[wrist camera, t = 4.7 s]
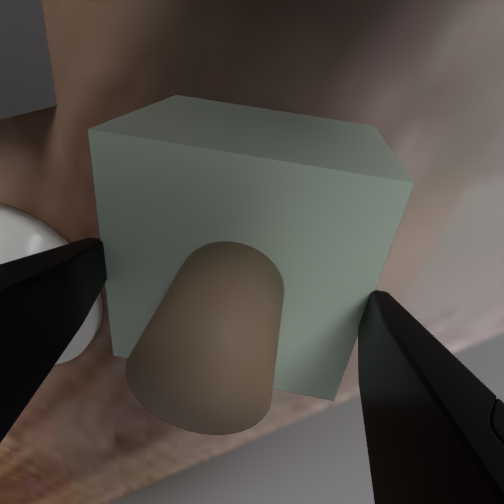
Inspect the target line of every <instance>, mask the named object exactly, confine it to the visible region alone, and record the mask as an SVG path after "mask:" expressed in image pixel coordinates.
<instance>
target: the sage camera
mask: <svg viewBox="0 0 504 504" xmlns="http://www.w3.org/2000/svg"><path fill="white" fill-rule="evenodd" d="M88 135H89V144H90V153H91V162H92V171H93V180H94V189H95V198H96V207H97V215H98V224H99V233H100V241H102V242H103V246H104V255H105V264H106V273H107V280H106V282H105V286H106V295H107V304H108V313H109V322H110V331H111V340H112V349H113V355H114V356H119V357H124V358H128V360H127V364H126V377H127V381H128V384H129V387H130V389H131V390H132V392H133V394H134V395H135V397H136V398H137V399H138V401H139V402H140V403H141V404H142V405H143V406H144V407H145V408H146V409H147V410H149V411H150V412H151V413H153V414H154V415H155V416H157V417H158V418H160V419H162V420H163V421H165V422H167V423H169V424H171V425H174V426H176V427H178V428H181V429H184V430H188V431H191V432H196V433H201V434H210V435H224V434H232V433H237V432H241V431H244V430H246V429H249V428H251V427H252V426H254V425H256V424H257V423H258V422H260V421H261V420H262V419H263V418H264V416H265V415H266V413H267V412H268V410H269V407H270V404H271V398H272V390H273V389H278V390H283V391H288V392H293V393H298V394H302V395H307V396H312V397H317V398H322V399H326V400H331V401H334V398H335V396H336V393H337V390H338V388H339V385H340V382H341V379H342V377H343V374H344V371H345V369H346V366H347V363H348V361H349V358H350V355H351V353H352V350H353V347H354V345H355V342H356V339H357V337H358V326H359V323H360V321H361V318H362V315H363V312H364V310H365V307H366V304H367V301H368V299H369V296H370V293H371V292H372V291H375V288H376V286H377V283H378V280H379V278H380V275H381V272H382V269H383V267H384V264H385V261H386V259H387V256H388V253H389V251H390V248H391V245H392V243H393V240H394V237H395V235H396V232H397V229H398V227H399V224H400V221H401V219H402V216H403V213H404V210H405V208H406V205H407V202H408V200H409V197H410V194H411V192H412V189H413V186H414V184H415V183H414V181H413V180H412V178H411V177H410V175H409V174H408V173H407V171H406V170H405V168H404V167H403V166H402V164H401V163H400V161H399V160H398V158H397V157H396V156H395V154H394V153H393V151H392V150H391V148H390V147H389V146H388V144H387V143H386V141H385V140H384V139H383V137H382V136H381V134H380V133H379V131H378V130H377V129H376V127H375V126H374V125H368V124H361V123H355V122H348V121H342V120H335V119H329V118H322V117H316V116H310V115H303V114H297V113H290V112H284V111H277V110H271V109H264V108H258V107H252V106H245V105H239V104H232V103H226V102H219V101H213V100H207V99H200V98H194V97H187V96H181V95H174V96H172V97H169V98H167V99H164V100H161V101H159V102H156V103H154V104H151V105H149V106H146V107H143V108H141V109H138V110H136V111H133V112H131V113H128V114H125V115H123V116H120V117H118V118H115V119H113V120H110V121H107V122H105V123H102V124H100V125H97V126H95V127H92V128H89V129H88Z"/></svg>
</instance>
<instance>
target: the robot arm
mask: <svg viewBox="0 0 504 504" xmlns="http://www.w3.org/2000/svg"><path fill="white" fill-rule="evenodd" d="M106 280H107V273H106V264H105V255H104V246H103V242H102V241H100V239H97V238H86V239H83V240H79V241H76V242H73V243H69V244H66V245H63V246H59V247H56V248H53V249H49V250H46V251H43V252H39V253H36V254H33V255H30V256H26V257H23V258H20V259H16V260H13V261H10V262H6V263H3V264H0V443H1V441H2V440H3V439H4V437H5V436H6V434H7V433H8V431H9V430H10V428H11V427H12V426H13V424H14V423H15V421H16V420H17V418H18V417H19V416H20V414H21V413H22V411H23V410H24V408H25V407H26V405H27V404H28V403H29V401H30V400H31V398H32V397H33V395H34V394H35V392H36V391H37V390H38V388H39V387H40V385H41V384H42V382H43V381H44V379H45V378H46V377H47V375H48V374H49V372H50V371H51V369H52V368H53V366H54V365H55V364H56V362H57V361H58V359H59V358H60V356H61V355H62V354H63V352H64V351H65V349H66V348H67V346H68V345H69V343H70V342H71V341H72V339H73V338H74V336H75V335H76V333H77V332H78V330H79V329H80V327H81V326H82V324H83V323H84V321H85V319H86V317H87V316H88V314H89V312H90V310H91V308H92V306H93V305H94V303H95V301H96V299H97V297H98V295H99V293H100V291H101V290H102V288H103V286H104V284H105V282H106ZM358 373H359V387H360V395H361V403H362V410H363V418H364V425H365V433H366V441H367V447H368V455H369V463H370V470H371V478H372V486H373V492H374V500H375V504H504V403H503V402H502V401H501V400H500V399H496V395H495V394H493V392H491V390H489V389H488V388H487V387H486V386H485V385H484V384H483V383H482V382H481V381H480V380H479V379H478V378H477V377H476V376H475V375H474V374H473V373H472V372H471V371H470V370H469V369H467V368H466V367H465V366H464V365H463V364H462V363H461V362H460V361H459V360H458V359H457V358H456V357H455V356H454V355H453V354H452V353H451V352H450V351H449V350H448V349H446V348H445V347H444V346H443V345H442V344H441V343H440V342H439V341H438V340H437V339H436V338H435V337H434V336H433V335H432V334H431V333H430V332H429V331H428V330H427V329H425V328H424V327H423V326H422V325H421V324H420V323H419V322H418V321H417V320H416V319H415V318H414V317H413V316H412V315H411V314H410V313H409V312H408V311H407V310H406V309H404V308H403V307H402V306H401V305H400V304H399V303H398V302H397V301H396V300H395V299H394V298H393V297H392V296H391V295H390V294H389V293H387V292H384V291H379V290H375V291H372V292H371V293H370V296H369V299H368V301H367V304H366V307H365V310H364V312H363V315H362V318H361V321H360V323H359V326H358Z"/></svg>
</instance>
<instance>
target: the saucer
mask: <svg viewBox="0 0 504 504" xmlns="http://www.w3.org/2000/svg"><path fill="white" fill-rule="evenodd" d="M66 244H69V243H68V242H67V241H66V240H65V239H64V238H63V237H62V236H61V235H60V234H58V233H57V232H56V231H55V230H53V229H52V228H51V227H49V226H48V225H46V224H45V223H43V222H42V221H40V220H38V219H37V218H35V217H33V216H31V215H29V214H27V213H25V212H23V211H21V210H18V209H16V208H13V207H10V206H7V205H4V204H1V203H0V264H3V263H6V262H10V261H13V260H16V259H20V258H23V257H26V256H30V255H33V254H36V253H39V252H43V251H46V250H49V249H53V248H56V247H59V246H63V245H66ZM102 319H103V301H102V296H101V292H100V293H99V295H98V297H97V299H96V301H95V303H94V305H93V306H92V308H91V310H90V312H89V314H88V316H87V317H86V319H85V321H84V323H83V324H82V326H81V327H80V329H79V330H78V332H77V333H76V335H75V336H74V338H73V339H72V341H71V342H70V343H69V345H68V346H67V348H66V349H65V351H64V352H63V354H62V355H61V356H60V358H59V359H58V361H57V362H56V364H61V363H64V362H67V361H70V360H72V359H73V358H75V357H77V356H78V355H79V354H81V353H82V352H83V351H84V349H85V348H86V347H87V346H88V344H89V343H90V342H91V340H92V339H93V338H94V336H95V335H96V334H97V332H98V330H99V328H100V326H101V322H102ZM56 364H55V365H56Z"/></svg>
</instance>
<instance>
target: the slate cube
mask: <svg viewBox="0 0 504 504" xmlns="http://www.w3.org/2000/svg"><path fill="white" fill-rule="evenodd" d="M54 106H57V103H56V96H55V89H54V83H53V76H52V69H51V63H50V56H49V49H48V42H47V36H46V29H45V22H44V16H43V9H42V2H41V0H0V119H4V118H8V117H12V116H16V115H20V114H25V113H29V112H33V111H37V110H41V109H45V108H50V107H54Z"/></svg>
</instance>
